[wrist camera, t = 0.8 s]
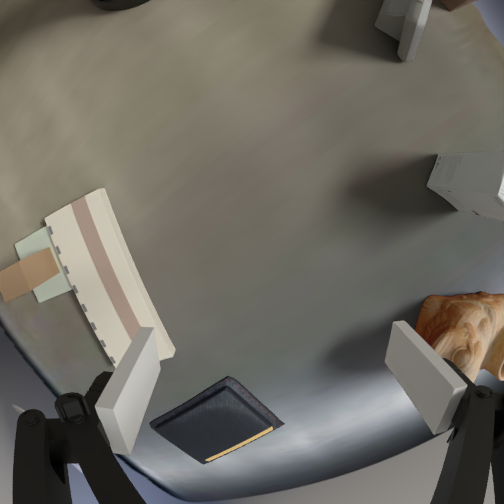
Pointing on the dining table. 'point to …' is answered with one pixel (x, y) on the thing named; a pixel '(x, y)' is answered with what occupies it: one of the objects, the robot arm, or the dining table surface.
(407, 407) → the dining table surface
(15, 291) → the stub
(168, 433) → the wallet
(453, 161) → the skincare box
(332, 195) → the dining table surface
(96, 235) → the pad
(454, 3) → the tissue box cover
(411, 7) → the digital clock
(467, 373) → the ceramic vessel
